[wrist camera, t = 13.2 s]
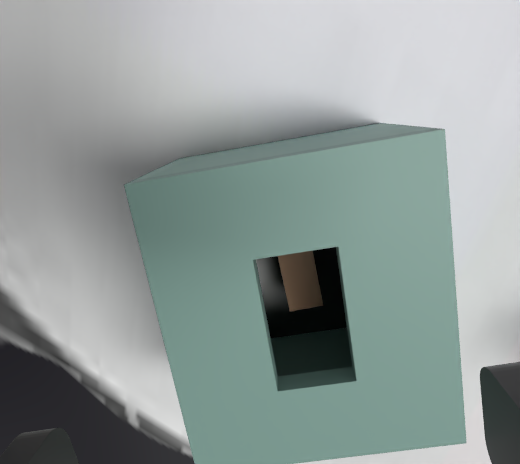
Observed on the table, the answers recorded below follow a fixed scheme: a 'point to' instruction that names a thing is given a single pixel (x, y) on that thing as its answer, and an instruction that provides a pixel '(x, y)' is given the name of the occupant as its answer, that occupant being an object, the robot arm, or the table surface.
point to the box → (352, 283)
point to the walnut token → (300, 280)
